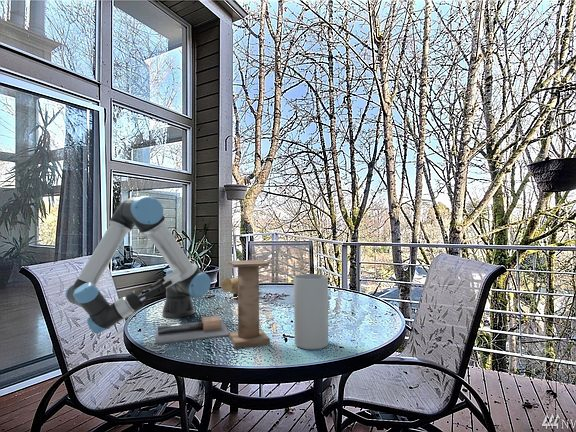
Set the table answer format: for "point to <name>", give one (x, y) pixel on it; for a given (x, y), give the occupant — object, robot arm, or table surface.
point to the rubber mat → (190, 335)
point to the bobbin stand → (248, 305)
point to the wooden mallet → (193, 325)
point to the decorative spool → (230, 286)
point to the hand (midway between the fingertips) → (179, 274)
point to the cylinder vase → (311, 311)
